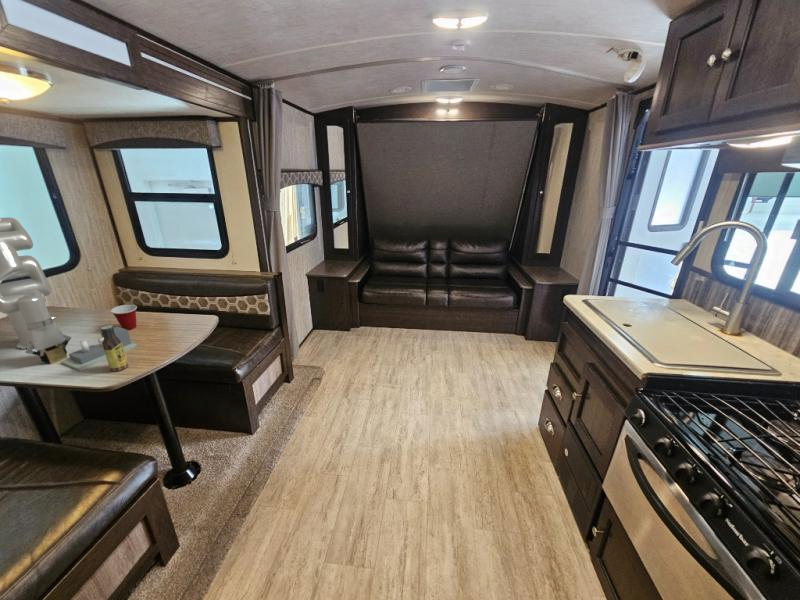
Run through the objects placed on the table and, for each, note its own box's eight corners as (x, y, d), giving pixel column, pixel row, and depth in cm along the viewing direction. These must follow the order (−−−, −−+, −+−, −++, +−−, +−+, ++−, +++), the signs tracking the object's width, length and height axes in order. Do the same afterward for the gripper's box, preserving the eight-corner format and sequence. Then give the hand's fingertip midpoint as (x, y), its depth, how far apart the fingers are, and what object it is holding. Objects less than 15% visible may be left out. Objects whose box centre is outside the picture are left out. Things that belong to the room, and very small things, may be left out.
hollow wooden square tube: (44, 361, 146) (39, 349, 144) (60, 355, 151) (55, 344, 149) (51, 364, 144) (45, 352, 142) (67, 358, 149) (62, 346, 147)
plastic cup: (125, 334, 171) (118, 313, 166) (112, 330, 174) (105, 310, 170) (147, 325, 180) (141, 306, 176) (134, 322, 184) (128, 302, 179)
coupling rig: (61, 363, 145) (54, 345, 142) (119, 340, 165) (114, 324, 161) (79, 370, 140) (72, 352, 137) (137, 346, 160) (132, 330, 156)
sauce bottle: (125, 371, 141) (111, 330, 133) (108, 373, 139) (92, 331, 132) (132, 362, 146) (118, 323, 139) (115, 364, 145) (101, 324, 137)
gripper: (60, 314, 149) (74, 348, 156) (7, 329, 135) (25, 366, 141) (69, 317, 147) (83, 351, 153) (16, 333, 132) (34, 370, 139)
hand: (55, 358), depth 147 cm, fingers closed on hollow wooden square tube, 5 cm apart
